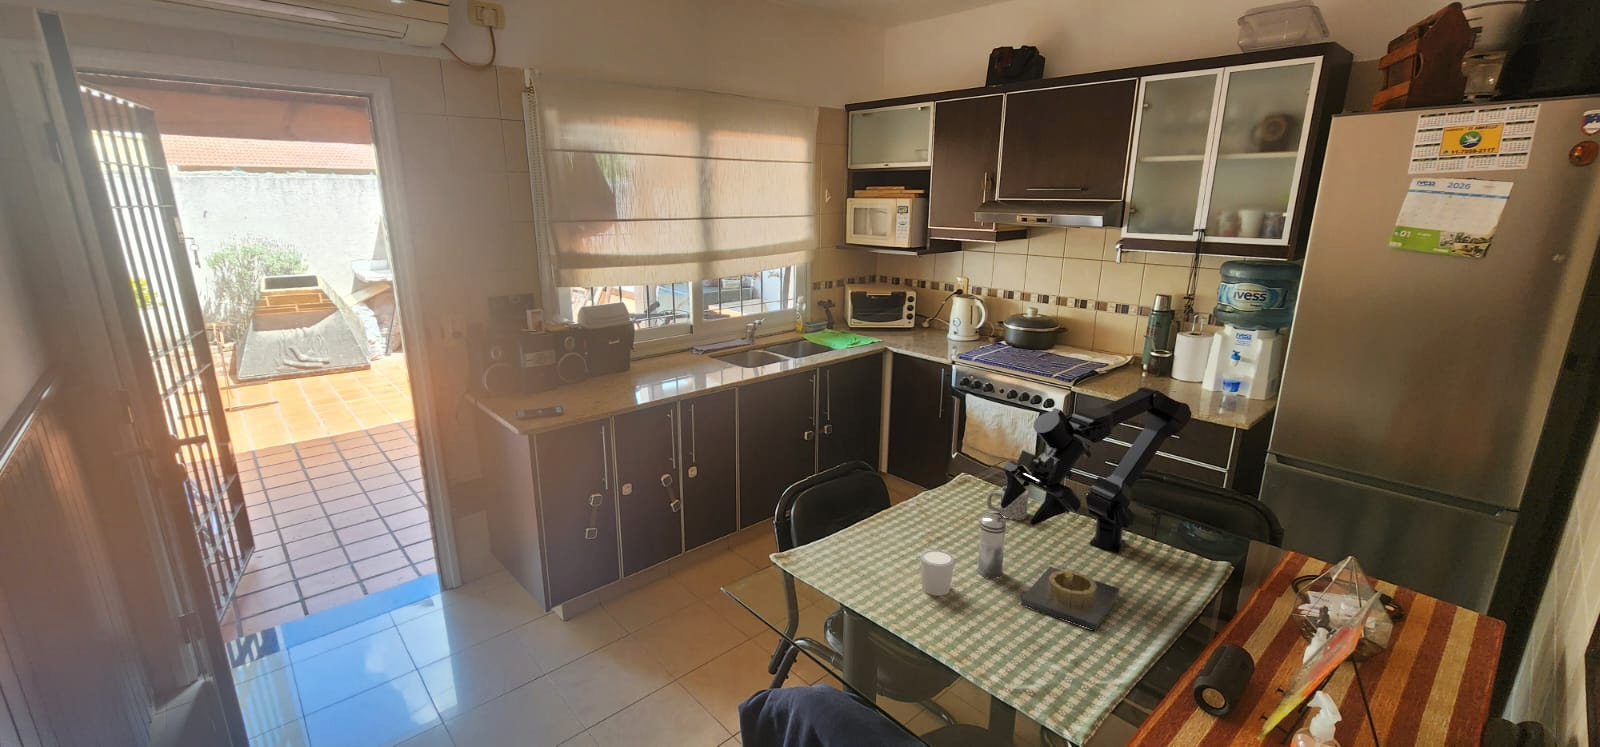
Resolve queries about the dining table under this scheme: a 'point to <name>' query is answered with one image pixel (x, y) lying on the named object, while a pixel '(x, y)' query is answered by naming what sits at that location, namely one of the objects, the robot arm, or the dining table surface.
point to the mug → (1014, 509)
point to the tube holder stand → (1071, 597)
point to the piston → (991, 545)
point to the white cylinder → (936, 571)
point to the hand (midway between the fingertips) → (1016, 515)
